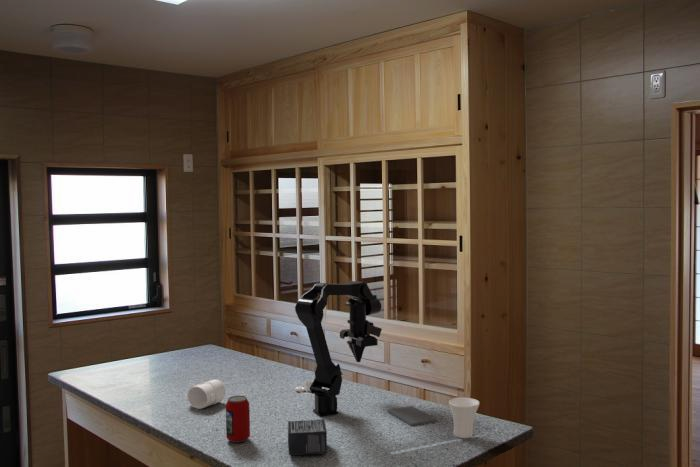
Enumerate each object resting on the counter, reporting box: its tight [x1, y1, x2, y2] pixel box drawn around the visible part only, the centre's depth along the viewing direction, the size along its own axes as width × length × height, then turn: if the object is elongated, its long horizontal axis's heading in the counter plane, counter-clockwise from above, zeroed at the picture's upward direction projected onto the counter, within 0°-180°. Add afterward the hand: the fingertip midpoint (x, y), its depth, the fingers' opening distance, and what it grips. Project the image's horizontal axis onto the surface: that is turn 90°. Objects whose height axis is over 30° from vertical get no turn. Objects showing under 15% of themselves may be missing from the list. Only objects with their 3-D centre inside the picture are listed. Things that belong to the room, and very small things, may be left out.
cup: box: [448, 397, 481, 439], centre depth 187 cm, size 9×9×10 cm
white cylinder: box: [187, 379, 226, 410], centre depth 220 cm, size 12×9×8 cm
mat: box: [387, 405, 437, 427], centre depth 204 cm, size 9×15×1 cm, turn 25°
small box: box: [287, 419, 328, 456], centre depth 178 cm, size 11×6×10 cm
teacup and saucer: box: [294, 379, 315, 395], centre depth 235 cm, size 9×8×4 cm
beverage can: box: [225, 395, 251, 443], centre depth 187 cm, size 7×7×12 cm
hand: (358, 362), depth 224 cm, fingers closed
